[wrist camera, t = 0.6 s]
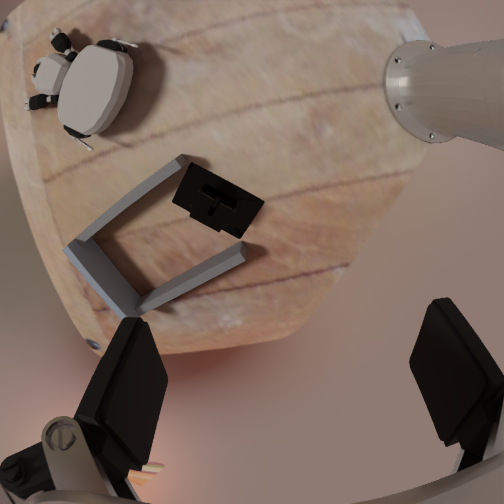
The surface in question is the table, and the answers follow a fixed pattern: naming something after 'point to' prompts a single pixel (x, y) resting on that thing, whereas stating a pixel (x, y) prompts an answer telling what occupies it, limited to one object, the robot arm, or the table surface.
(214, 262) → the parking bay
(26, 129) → the table surface
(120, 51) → the robot toy
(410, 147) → the table surface
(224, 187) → the black bracket part
